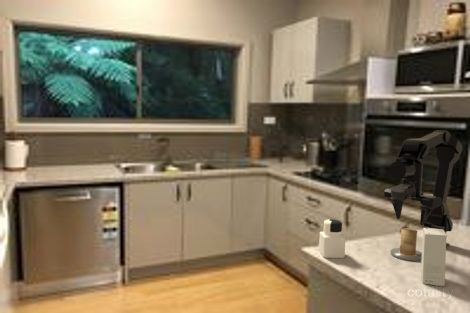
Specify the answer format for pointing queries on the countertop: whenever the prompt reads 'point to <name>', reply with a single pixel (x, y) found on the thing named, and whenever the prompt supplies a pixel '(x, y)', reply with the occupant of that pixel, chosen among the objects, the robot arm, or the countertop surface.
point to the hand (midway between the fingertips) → (409, 221)
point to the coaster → (398, 255)
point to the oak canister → (408, 241)
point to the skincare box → (433, 256)
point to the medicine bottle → (332, 240)
